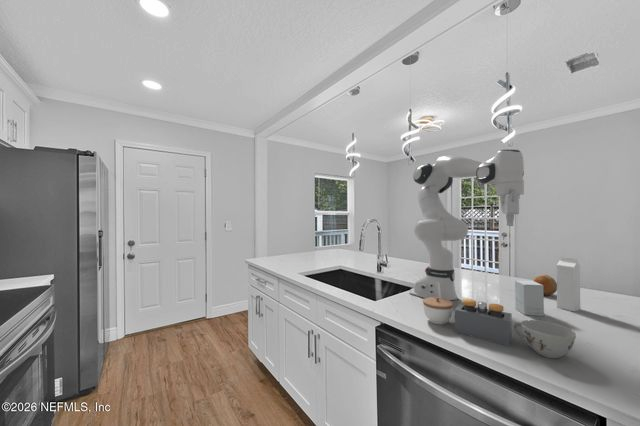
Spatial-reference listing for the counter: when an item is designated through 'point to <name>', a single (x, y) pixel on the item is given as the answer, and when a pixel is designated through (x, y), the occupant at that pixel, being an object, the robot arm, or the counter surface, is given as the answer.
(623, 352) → the counter surface
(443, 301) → the lidded jar
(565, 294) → the milk
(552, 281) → the onion
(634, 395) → the counter surface
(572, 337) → the teacup
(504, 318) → the mount
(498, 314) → the knob right
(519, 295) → the supplement box
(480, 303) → the shiny silver ball
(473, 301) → the knob left
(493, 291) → the counter surface
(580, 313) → the counter surface
